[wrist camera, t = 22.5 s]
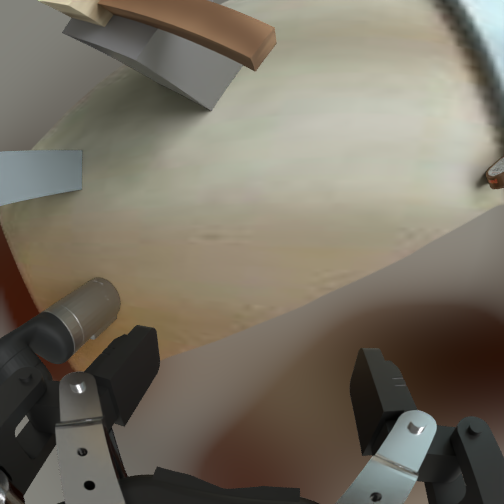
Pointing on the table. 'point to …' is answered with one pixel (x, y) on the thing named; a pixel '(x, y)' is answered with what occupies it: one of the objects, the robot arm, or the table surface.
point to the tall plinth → (38, 174)
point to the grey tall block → (161, 57)
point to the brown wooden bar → (185, 23)
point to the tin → (496, 174)
